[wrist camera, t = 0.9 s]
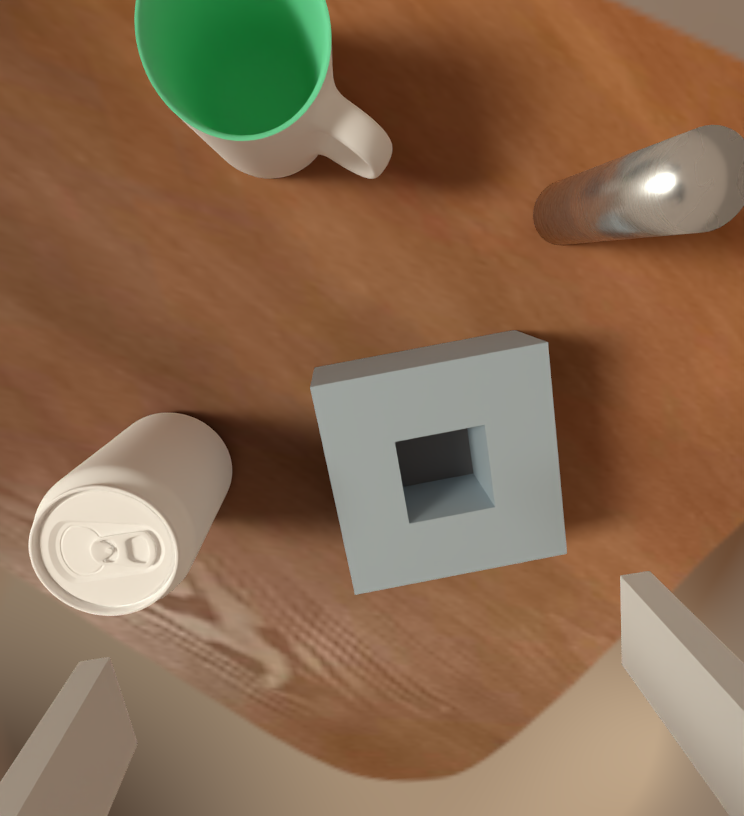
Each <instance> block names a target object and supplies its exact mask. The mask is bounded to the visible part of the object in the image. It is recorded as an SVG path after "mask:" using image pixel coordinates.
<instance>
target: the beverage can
mask: <svg viewBox="0 0 744 816" xmlns="http://www.w3.org/2000/svg"><path fill="white" fill-rule="evenodd" d="M231 479H232V462H231V458H230V454H229V452H228V449H227V447H226V445H225V444H224V442H223V440H222V439H221V438H220V436H219V435H218V434H217V433H216V432H215V431H214V430H213V429H212V428H210V427H209V426H208V425H206V424H205V423H203V422H202V421H200V420H198V419H196V418H194V417H191V416H188V415H184V414H180V413H157V414H153V415H149V416H146V417H144V418H142V419H140V420H138V421H136V422H135V423H133V424H132V425H131V426H129V427H128V428H127V429H126V430H124V431H123V432H122V433H120V434H119V435H118V436H116V437H115V438H114V439H113V440H111V441H110V442H109V443H107V444H106V445H105V446H104V447H102V448H101V449H100V450H98V451H97V452H96V453H95V454H93V455H92V456H91V457H89V458H88V459H87V460H85V461H84V462H83V463H82V464H80V465H79V466H78V467H76V468H75V469H74V470H73V471H71V472H70V473H69V474H67V475H66V476H65V477H64V478H62V479H61V480H60V481H58V482H57V483H56V484H55V485H54V486H53V487H52V488H51V489H50V490H49V491H48V492H47V494H46V495H45V496H44V498H43V499H42V501H41V503H40V505H39V507H38V509H37V512H36V515H35V519H34V523H33V525H32V528H31V531H30V536H29V555H30V559H31V563H32V566H33V568H34V570H35V573H36V574H37V576H38V578H39V579H40V581H41V582H42V584H43V585H44V586H45V587H46V588H47V589H48V590H49V591H50V592H51V593H52V594H53V595H54V596H55V597H57V598H58V599H59V600H61V601H62V602H64V603H65V604H67V605H69V606H71V607H73V608H75V609H78V610H80V611H83V612H87V613H91V614H96V615H104V616H117V615H125V614H130V613H133V612H137V611H139V610H142V609H144V608H146V607H148V606H150V605H151V604H153V603H154V602H156V601H157V600H159V599H161V598H163V597H164V596H166V595H167V594H169V593H170V592H171V591H172V590H174V589H175V588H176V587H177V586H178V585H179V584H180V583H181V582H182V580H183V579H184V578H185V576H186V575H187V573H188V572H189V570H190V568H191V566H192V564H193V562H194V560H195V558H196V556H197V554H198V552H199V550H200V548H201V545H202V543H203V541H204V539H205V537H206V535H207V533H208V531H209V529H210V527H211V525H212V523H213V521H214V519H215V517H216V515H217V513H218V511H219V509H220V506H221V504H222V502H223V500H224V498H225V496H226V494H227V492H228V490H229V487H230V484H231Z"/></svg>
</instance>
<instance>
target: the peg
mask: <svg viewBox="0 0 744 816" xmlns="http://www.w3.org/2000/svg"><path fill="white" fill-rule="evenodd" d="M743 206H744V139H743V138H742V137H741V135H739V134H738V133H737V132H735V131H734V130H732V129H730V128H727V127H725V126H719V125H708V126H703V127H699V128H696V129H694V130H691V131H688V132H686V133H683V134H680V135H678V136H675V137H673V138H670V139H667V140H665V141H662V142H659V143H657V144H654V145H652V146H649V147H646V148H644V149H641V150H638V151H636V152H633V153H631V154H628V155H625V156H623V157H620V158H617V159H615V160H612V161H610V162H607V163H604V164H602V165H599V166H596V167H594V168H591V169H589V170H586V171H583V172H581V173H578V174H575V175H573V176H570V177H568V178H565V179H562V180H560V181H557V182H555V183H552V184H551V185H549V186H548V187H546V188H545V189H544V190H543V191H542V192H541V194H540V195H539V197H538V198H537V201H536V203H535V206H534V211H533V220H534V225H535V228H536V230H537V232H538V233H539V235H540V236H541V237H542V238H543V239H544V240H546V241H547V242H549V243H552V244H556V245H567V244H578V243H590V242H601V241H612V240H623V239H634V238H645V237H657V236H668V235H679V234H690V233H701V232H708V231H712V230H715V229H717V228H719V227H721V226H723V225H725V224H726V223H728V222H729V221H730V220H731V219H732V218H734V217H735V216H736V215H737V214H738V212H739V211H740V210H741V209H742V207H743Z"/></svg>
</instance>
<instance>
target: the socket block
mask: <svg viewBox="0 0 744 816" xmlns="http://www.w3.org/2000/svg"><path fill="white" fill-rule="evenodd" d="M310 389H311V394H312V398H313V403H314V407H315V412H316V417H317V421H318V426H319V430H320V435H321V440H322V444H323V449H324V454H325V458H326V463H327V467H328V472H329V477H330V481H331V486H332V490H333V495H334V500H335V504H336V509H337V514H338V518H339V523H340V527H341V532H342V537H343V541H344V546H345V551H346V555H347V560H348V564H349V569H350V574H351V578H352V583H353V587H354V592H355V595H357V594H362V593H367V592H372V591H377V590H382V589H387V588H393V587H398V586H403V585H408V584H413V583H418V582H423V581H429V580H434V579H439V578H444V577H449V576H454V575H459V574H465V573H470V572H475V571H480V570H485V569H490V568H496V567H501V566H506V565H511V564H516V563H521V562H526V561H532V560H537V559H542V558H547V557H552V556H557V555H562V554H567V548H566V537H565V526H564V515H563V504H562V492H561V481H560V470H559V459H558V448H557V437H556V426H555V415H554V404H553V393H552V382H551V371H550V360H549V349H548V342H546V341H543V340H541V339H538V338H535V337H533V336H530V335H527V334H524V333H522V332H519V331H516V330H512V331H507V332H501V333H496V334H491V335H485V336H480V337H475V338H469V339H464V340H459V341H454V342H448V343H443V344H438V345H432V346H427V347H422V348H416V349H411V350H406V351H401V352H395V353H390V354H385V355H379V356H374V357H369V358H363V359H358V360H353V361H348V362H342V363H337V364H332V365H326V366H321V367H316V368H314V372H313V377H312V381H311V385H310Z"/></svg>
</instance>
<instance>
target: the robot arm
mask: <svg viewBox="0 0 744 816" xmlns="http://www.w3.org/2000/svg"><path fill="white" fill-rule="evenodd" d="M620 586H621V642H622V665H623V667H624V668H625V670H626V671H627V672H628V674H629V675H630V677H631V678H632V679H633V681H634V682H635V684H636V685H637V686H638V688H639V689H640V691H641V692H642V693H643V695H644V696H645V698H646V699H647V700H648V702H649V703H650V705H651V706H652V708H653V709H654V710H655V712H656V713H657V715H658V716H659V717H660V719H661V720H662V722H663V723H664V724H665V726H666V727H667V729H668V730H669V731H670V733H671V734H672V736H673V737H674V738H675V740H676V741H677V743H678V744H679V745H680V747H681V748H682V750H683V751H684V752H685V754H686V755H687V757H688V758H689V759H690V761H691V762H692V764H693V765H694V767H695V768H696V769H697V771H698V772H699V774H700V775H701V776H702V778H703V779H704V781H705V782H706V783H707V785H708V786H709V788H710V789H711V790H712V792H713V793H714V795H715V796H716V797H717V799H718V800H719V802H720V803H721V805H722V806H723V807H724V808H725V810H726V811H727V813H728V814H729V816H744V663H743V662H742V661H741V660H739V658H738V657H737V656H736V655H735V654H734V653H733V652H732V651H730V649H729V648H728V647H727V646H725V645H724V644H723V643H722V642H721V641H720V640H719V639H718V638H717V637H716V636H715V635H714V634H713V633H712V632H711V631H710V630H709V629H708V628H707V627H706V626H705V625H704V624H703V623H702V622H701V621H700V620H699V619H698V618H697V617H696V616H695V615H694V614H693V613H692V612H691V611H690V610H689V609H688V608H687V607H686V606H685V605H684V604H683V603H681V601H680V600H679V599H677V598H676V597H675V596H674V595H673V594H672V593H671V592H670V591H669V590H668V589H667V588H666V587H665V586H664V585H663V584H662V583H661V582H660V581H659V580H658V579H657V578H656V577H655V576H654V575H653V574H652V573H651V572H650V571H646V572H640V573H634V574H627V575H621V576H620ZM137 744H138V743H137V740H136V737H135V734H134V730H133V727H132V724H131V721H130V718H129V715H128V712H127V709H126V706H125V702H124V699H123V696H122V693H121V690H120V687H119V684H118V681H117V677H116V674H115V671H114V668H113V665H112V662H111V659H110V657H106V658H100V659H94V660H87V661H81V662H79V663H78V665H77V666H76V668H75V669H74V671H73V672H72V674H71V675H70V677H69V678H68V680H67V681H66V683H65V684H64V686H63V688H62V689H61V690H60V692H59V694H58V695H57V697H56V698H55V700H54V701H53V703H52V704H51V706H50V707H49V709H48V710H47V712H46V713H45V715H44V716H43V718H42V719H41V721H40V722H39V724H38V726H37V727H36V729H35V730H34V732H33V733H32V735H31V736H30V738H29V739H28V741H27V742H26V744H25V745H24V747H23V748H22V750H21V752H20V753H19V755H18V756H17V757H16V759H15V761H14V762H13V764H12V765H11V767H10V768H9V770H8V771H7V773H6V774H5V776H4V777H3V779H2V780H1V782H0V816H107V815H108V812H109V810H110V808H111V805H112V803H113V801H114V798H115V796H116V793H117V791H118V789H119V786H120V784H121V782H122V779H123V777H124V774H125V772H126V770H127V767H128V765H129V763H130V760H131V758H132V756H133V753H134V751H135V748H136V746H137Z"/></svg>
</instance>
